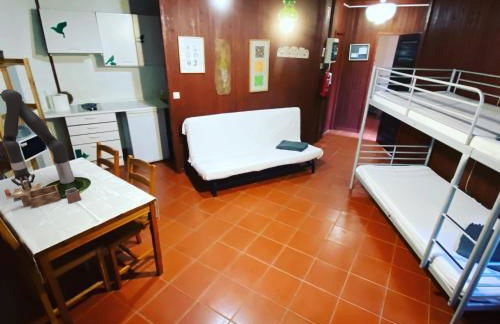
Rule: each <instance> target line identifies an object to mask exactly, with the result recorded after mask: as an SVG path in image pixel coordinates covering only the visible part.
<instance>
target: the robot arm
mask: <svg viewBox="0 0 500 324" xmlns="http://www.w3.org/2000/svg"><path fill="white" fill-rule="evenodd" d="M0 97H1V100H2V101H4V102H5V106H6V107H5V108H6V112H5V118H4V122H3V135H2V146H3V148H5V150H6V152H7V155H8V156H7V158H8V161H9V163H10V166H11V170H12V173H13V174H14V177H13V178H10V181H11V182H12V183H13V184H14V185H16V186H18V187H19V186H20V187H21V188H23V190H25V188H24V184H23V182H25V181H27V182H28V185H29V188H30V189H31V188H32V186H31V185H32V183H34V180H35V177H36V174H35V173H30V172H29V170H28V166H27V163H26V162H25V160H24V157H23V155H22V151H21V148H20V145H19V143H18V142H17V137H18V135H19V123H20V122H19V120H20V119H21V120H22V122H24V124H25V126H27V127H28V128H29V129H30V131H32V133H34V135H36V136H37V137H38V138H40V139H41V141H42V142H43V143H44V144H45V146H46V147H47V149H48V150H49V151H50V152H51V153H52V156H53V163H54V166H55V170H56V172H57V176H58V179H59V182H60V183H61V184H64V185H66V184H71V183H73V182H75V181H76V179H75V175H74V173H73V170H72V167H71V164H70V160H69V153H68V149H67V147H66V144H64V143H63V142H61V141H60V140H59V139H57V138H56V137H55V136H54V135H53V134H52V132H51V131H50V128H49V127H48V126H47V124H46V122H45V121H44V120H43V119H42V118H41V117H40V116H39V115H38V114H37V113H36V112H35V111H34V110H32V109H31V108H30V107H29V106H27V104H26V103H25V101H24V100H23V96H22V94H21V93H20V92H19V91H17V90H15V89H11V88H10V89H9V88H7V89H3V90H2V91H1V93H0ZM30 177H31V179H29V178H30ZM74 180H75V181H74Z"/></svg>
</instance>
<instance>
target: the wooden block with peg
mask: <svg viewBox="0 0 500 324" xmlns="http://www.w3.org/2000/svg"><path fill="white" fill-rule="evenodd" d="M3 192H4V193H5V198H6V200H11V199H13V198H15V197H19V196H23V193H22V192H18V193H11V191H10V189H9V188H7V189H4V190H3Z"/></svg>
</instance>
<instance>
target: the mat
mask: <svg viewBox="0 0 500 324" xmlns="http://www.w3.org/2000/svg"><path fill="white" fill-rule="evenodd" d="M44 187H45V185H42V188H44ZM12 199H13V202H18V201H21V198H20V197H18V198H12Z"/></svg>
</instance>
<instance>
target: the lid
mask: <svg viewBox="0 0 500 324" xmlns="http://www.w3.org/2000/svg"><path fill="white" fill-rule="evenodd" d="M23 184H24V188H25V190H23V188H22V187H19V188H15V189H13V190H12V192H13V193H12V194H14V193H18V192H22V193H23V194H25V193H28V192H29V191H33V190H37V189H41V188H42V186H43V184H42V183H41V182H40V183H35V184H31V186H32V188H31V189H30V188H29V185H28V182H27V181H26V180H24V181H23ZM19 197H20V196H19ZM15 198H18V197H15Z"/></svg>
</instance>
